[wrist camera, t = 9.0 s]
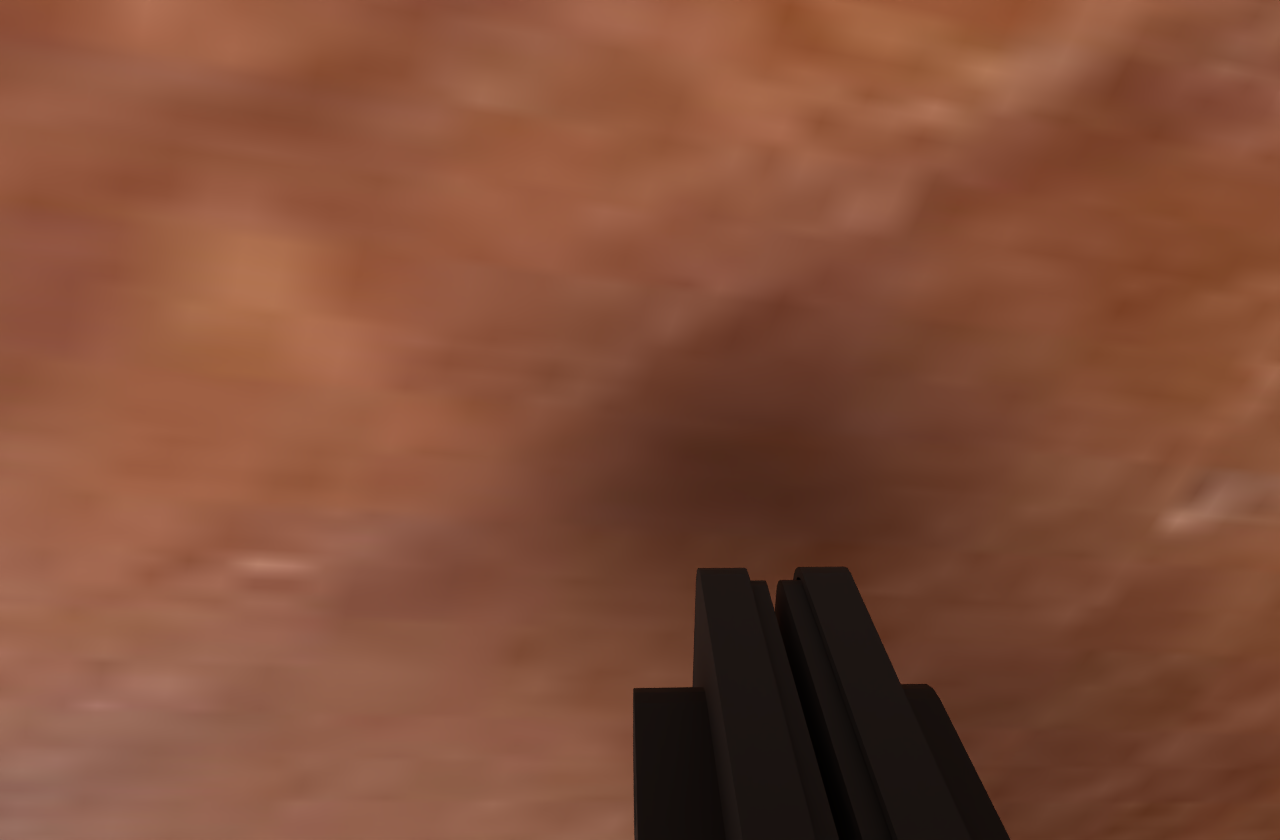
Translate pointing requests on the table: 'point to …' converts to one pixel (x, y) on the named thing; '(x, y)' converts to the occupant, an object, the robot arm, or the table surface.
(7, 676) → the table surface
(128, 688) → the table surface
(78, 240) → the table surface
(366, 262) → the table surface
